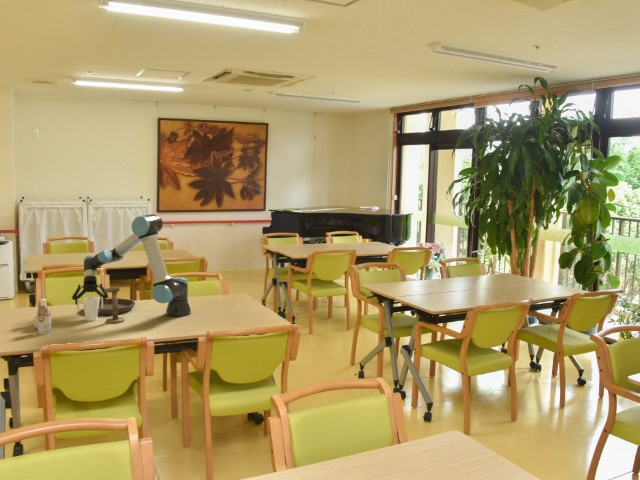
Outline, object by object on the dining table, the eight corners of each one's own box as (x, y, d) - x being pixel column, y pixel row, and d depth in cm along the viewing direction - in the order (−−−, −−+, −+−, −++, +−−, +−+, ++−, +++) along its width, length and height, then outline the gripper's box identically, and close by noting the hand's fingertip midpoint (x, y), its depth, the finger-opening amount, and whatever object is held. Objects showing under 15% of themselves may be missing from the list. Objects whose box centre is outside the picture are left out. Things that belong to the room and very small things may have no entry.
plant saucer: (128, 302, 396) (128, 295, 395) (141, 312, 370) (141, 305, 370) (79, 307, 379) (79, 300, 379) (89, 318, 354) (89, 311, 353)
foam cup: (83, 322, 345) (83, 300, 343) (82, 318, 353) (81, 297, 351) (101, 320, 349) (100, 299, 347) (99, 316, 357) (98, 296, 356)
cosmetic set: (31, 324, 339) (29, 292, 337) (48, 322, 344) (47, 290, 342) (36, 335, 318) (34, 301, 316) (54, 333, 323) (53, 299, 321)
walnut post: (126, 321, 347) (126, 288, 345) (109, 324, 341) (108, 290, 338) (120, 318, 355) (119, 285, 352) (103, 320, 348) (102, 287, 346)
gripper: (111, 281, 369) (112, 310, 357) (68, 283, 360) (68, 312, 348) (111, 274, 363) (112, 303, 351) (67, 276, 355) (67, 306, 343)
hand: (90, 308), depth 350 cm, fingers open, 13 cm apart
